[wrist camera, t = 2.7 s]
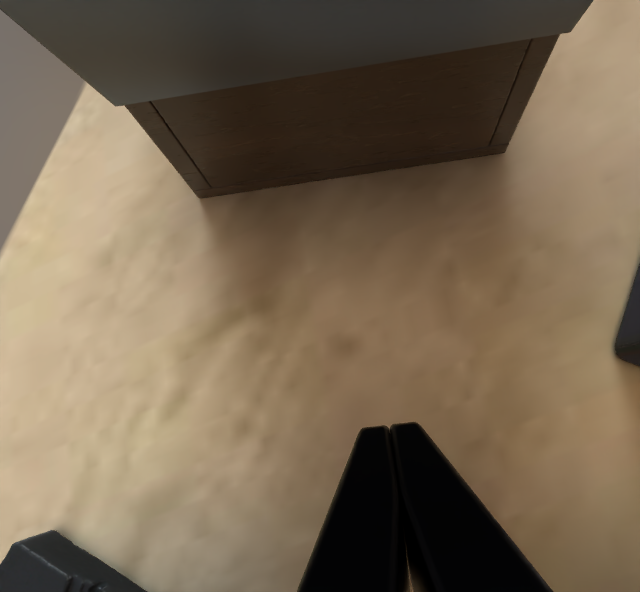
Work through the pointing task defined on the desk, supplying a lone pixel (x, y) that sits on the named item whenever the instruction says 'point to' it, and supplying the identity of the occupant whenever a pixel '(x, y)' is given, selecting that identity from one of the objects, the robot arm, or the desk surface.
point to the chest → (348, 119)
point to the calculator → (630, 327)
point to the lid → (265, 37)
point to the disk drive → (58, 568)
